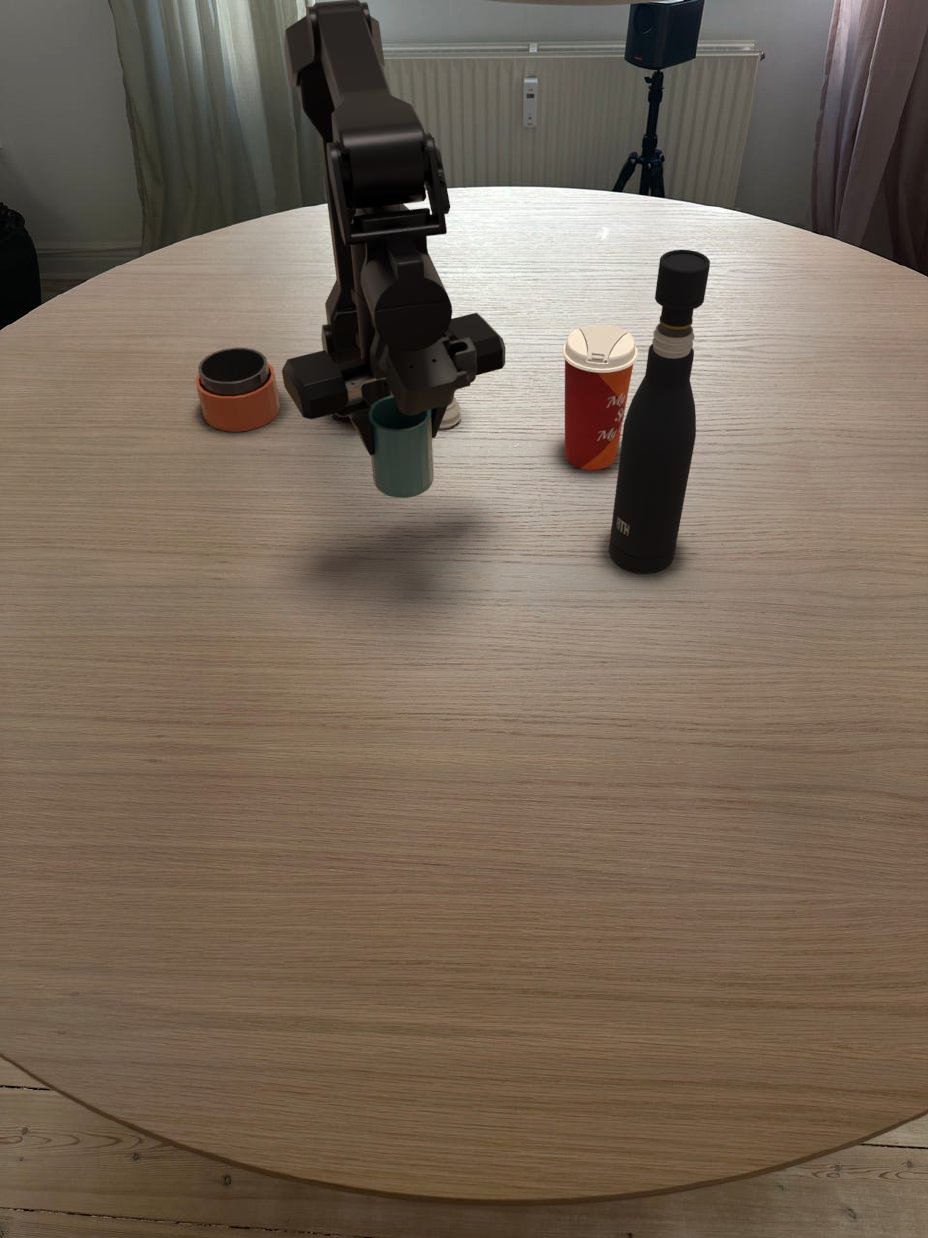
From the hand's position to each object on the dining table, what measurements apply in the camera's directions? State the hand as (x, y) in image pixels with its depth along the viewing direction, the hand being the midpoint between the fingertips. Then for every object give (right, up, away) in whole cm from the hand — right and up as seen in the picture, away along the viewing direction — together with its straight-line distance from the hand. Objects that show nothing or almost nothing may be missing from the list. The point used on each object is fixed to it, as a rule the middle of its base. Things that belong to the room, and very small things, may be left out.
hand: (400, 444), depth 91 cm
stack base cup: (-20, +8, +25) cm, 33 cm away
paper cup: (+20, +2, +18) cm, 27 cm away
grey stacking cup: (-20, +8, +25) cm, 33 cm away
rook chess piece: (+3, +7, +23) cm, 24 cm away
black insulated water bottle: (+23, -10, +7) cm, 26 cm away
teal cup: (0, -3, +3) cm, 4 cm away
